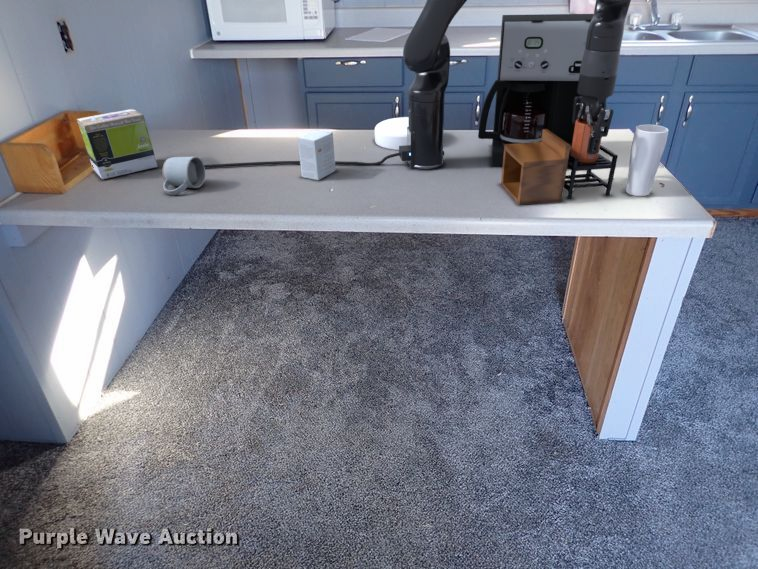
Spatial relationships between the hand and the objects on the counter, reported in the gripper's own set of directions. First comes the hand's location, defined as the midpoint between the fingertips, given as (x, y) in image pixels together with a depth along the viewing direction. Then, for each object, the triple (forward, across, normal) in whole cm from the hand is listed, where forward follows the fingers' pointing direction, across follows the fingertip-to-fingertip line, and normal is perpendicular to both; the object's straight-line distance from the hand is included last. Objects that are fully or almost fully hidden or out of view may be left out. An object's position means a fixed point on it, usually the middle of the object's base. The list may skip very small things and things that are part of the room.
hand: (585, 148), depth 125 cm
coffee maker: (+10, -25, -3) cm, 27 cm away
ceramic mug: (+10, -20, -95) cm, 98 cm away
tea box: (+10, -38, -114) cm, 121 cm away
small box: (+10, -23, -61) cm, 66 cm away
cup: (+2, 0, 0) cm, 2 cm away
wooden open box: (+10, 0, -12) cm, 15 cm away
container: (+10, -48, -33) cm, 59 cm away
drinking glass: (+10, +5, +12) cm, 16 cm away
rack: (+10, 0, 0) cm, 10 cm away
